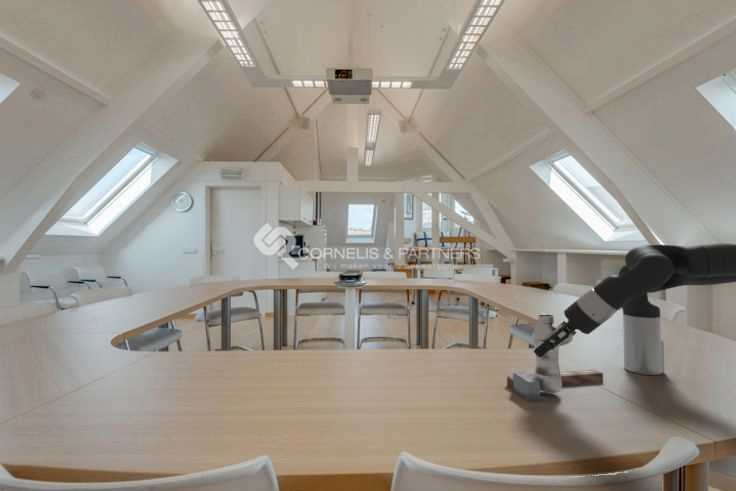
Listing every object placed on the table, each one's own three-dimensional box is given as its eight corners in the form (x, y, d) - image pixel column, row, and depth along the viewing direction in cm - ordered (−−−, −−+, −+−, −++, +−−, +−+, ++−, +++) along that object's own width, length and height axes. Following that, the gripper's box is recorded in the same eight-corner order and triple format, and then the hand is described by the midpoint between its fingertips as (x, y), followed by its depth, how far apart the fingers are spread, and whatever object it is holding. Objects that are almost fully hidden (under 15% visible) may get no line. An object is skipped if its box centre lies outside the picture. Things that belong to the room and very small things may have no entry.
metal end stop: (523, 390, 97) (523, 371, 97) (540, 400, 90) (539, 381, 90) (513, 390, 96) (513, 372, 96) (529, 401, 89) (528, 382, 89)
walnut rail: (594, 377, 104) (594, 369, 105) (603, 381, 102) (602, 372, 102) (507, 385, 100) (507, 376, 100) (513, 389, 97) (512, 379, 97)
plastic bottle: (566, 396, 90) (563, 318, 90) (537, 395, 91) (535, 317, 92) (557, 387, 96) (555, 313, 96) (531, 385, 98) (529, 313, 98)
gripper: (599, 328, 80) (544, 370, 88) (606, 318, 92) (556, 356, 99) (572, 303, 84) (521, 345, 91) (582, 296, 95) (535, 334, 102)
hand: (540, 351), depth 95 cm, fingers closed on plastic bottle, 6 cm apart
